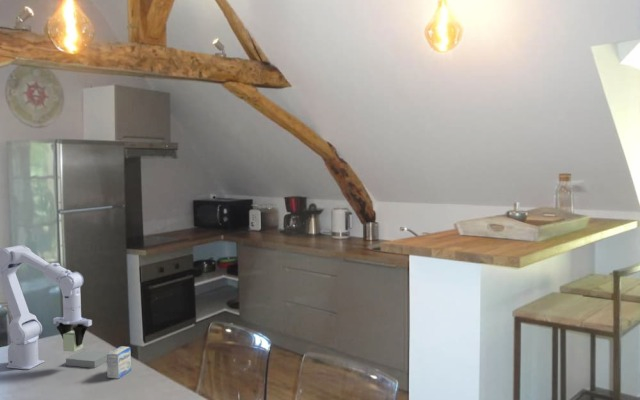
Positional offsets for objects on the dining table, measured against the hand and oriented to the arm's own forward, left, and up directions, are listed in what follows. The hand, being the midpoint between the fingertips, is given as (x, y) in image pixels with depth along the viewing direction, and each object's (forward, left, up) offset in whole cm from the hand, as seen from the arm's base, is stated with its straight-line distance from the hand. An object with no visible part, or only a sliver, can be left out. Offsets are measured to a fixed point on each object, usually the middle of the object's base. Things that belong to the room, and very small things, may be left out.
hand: (73, 344), depth 187 cm
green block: (0, 0, -2) cm, 2 cm away
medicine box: (+19, -1, -9) cm, 21 cm away
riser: (+1, +7, -9) cm, 11 cm away
